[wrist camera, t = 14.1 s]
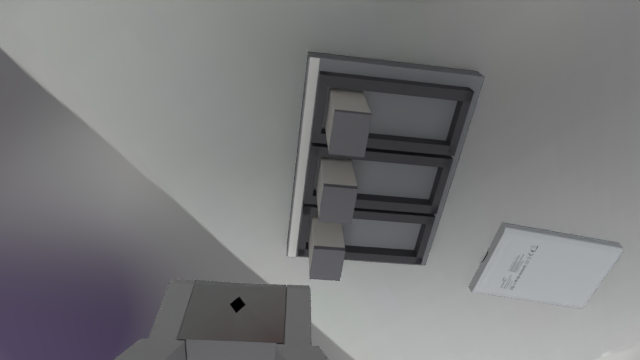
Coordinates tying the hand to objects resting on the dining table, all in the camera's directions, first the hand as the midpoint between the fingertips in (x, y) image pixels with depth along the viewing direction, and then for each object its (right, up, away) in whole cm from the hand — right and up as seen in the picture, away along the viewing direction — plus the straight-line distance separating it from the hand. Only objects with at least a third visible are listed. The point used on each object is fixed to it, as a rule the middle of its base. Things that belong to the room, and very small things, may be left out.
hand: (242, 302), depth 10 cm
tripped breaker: (+2, -1, +28) cm, 28 cm away
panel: (+6, +4, +27) cm, 28 cm away
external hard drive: (+24, -5, +34) cm, 42 cm away
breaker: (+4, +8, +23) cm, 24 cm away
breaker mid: (+3, +3, +25) cm, 26 cm away
